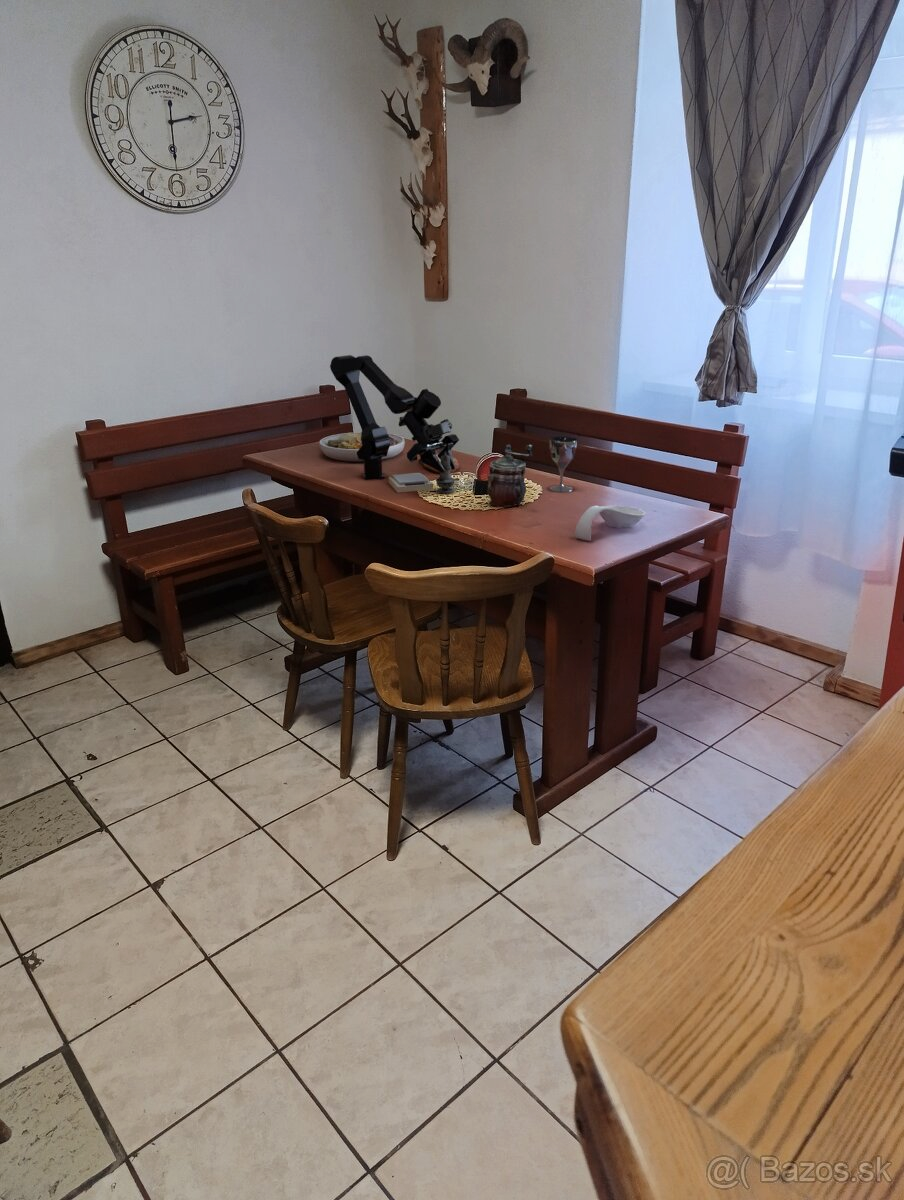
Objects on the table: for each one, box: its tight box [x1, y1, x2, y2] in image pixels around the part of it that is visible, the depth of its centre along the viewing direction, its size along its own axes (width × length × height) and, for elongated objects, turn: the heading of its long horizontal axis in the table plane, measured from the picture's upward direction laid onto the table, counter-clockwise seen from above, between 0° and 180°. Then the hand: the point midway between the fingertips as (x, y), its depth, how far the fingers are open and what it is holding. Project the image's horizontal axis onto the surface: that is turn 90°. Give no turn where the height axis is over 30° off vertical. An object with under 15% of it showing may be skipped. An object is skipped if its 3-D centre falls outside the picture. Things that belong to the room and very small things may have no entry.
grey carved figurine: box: [435, 452, 456, 495], centre depth 241 cm, size 6×6×12 cm
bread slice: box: [420, 454, 460, 474], centre depth 271 cm, size 18×18×4 cm
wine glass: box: [548, 436, 578, 493], centre depth 242 cm, size 8×8×15 cm
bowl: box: [318, 431, 406, 463], centre depth 288 cm, size 30×30×8 cm
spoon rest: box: [573, 504, 646, 541], centre depth 207 cm, size 24×12×7 cm, turn 137°
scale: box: [388, 472, 434, 494], centre depth 248 cm, size 12×11×3 cm
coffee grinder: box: [486, 444, 534, 508], centre depth 227 cm, size 13×15×18 cm
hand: (449, 470), depth 240 cm, fingers open, 5 cm apart
